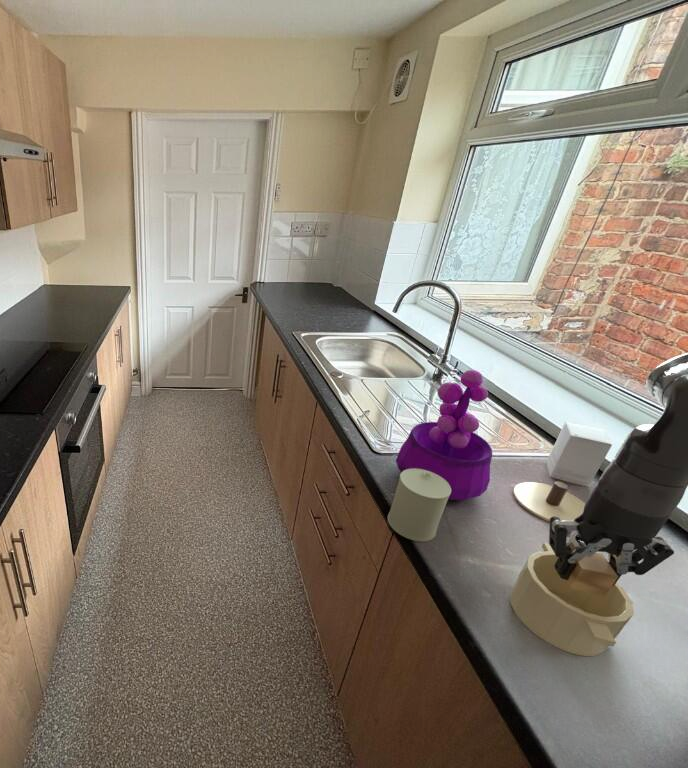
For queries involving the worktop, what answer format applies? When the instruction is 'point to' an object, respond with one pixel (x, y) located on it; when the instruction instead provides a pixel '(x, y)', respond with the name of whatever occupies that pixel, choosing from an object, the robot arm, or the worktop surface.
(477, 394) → the decorative plant
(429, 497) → the can
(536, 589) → the pot
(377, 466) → the worktop surface
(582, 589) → the block
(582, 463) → the white packaging box
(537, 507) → the lid
